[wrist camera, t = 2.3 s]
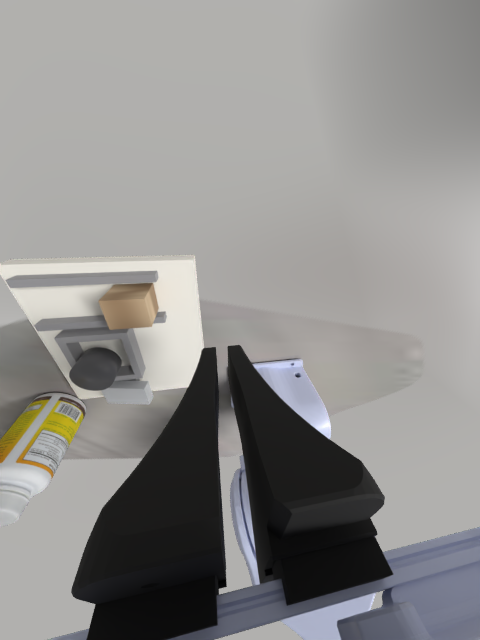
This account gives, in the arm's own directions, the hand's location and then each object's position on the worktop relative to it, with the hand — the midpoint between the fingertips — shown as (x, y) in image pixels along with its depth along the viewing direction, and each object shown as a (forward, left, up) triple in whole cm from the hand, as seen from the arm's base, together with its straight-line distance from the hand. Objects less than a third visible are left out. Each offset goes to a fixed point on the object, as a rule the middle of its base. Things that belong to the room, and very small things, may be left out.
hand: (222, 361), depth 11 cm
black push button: (+10, +6, -7) cm, 14 cm away
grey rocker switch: (+9, +10, -7) cm, 16 cm away
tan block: (+6, 0, -9) cm, 11 cm away
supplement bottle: (+19, +15, -11) cm, 26 cm away
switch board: (+8, +5, -10) cm, 14 cm away
